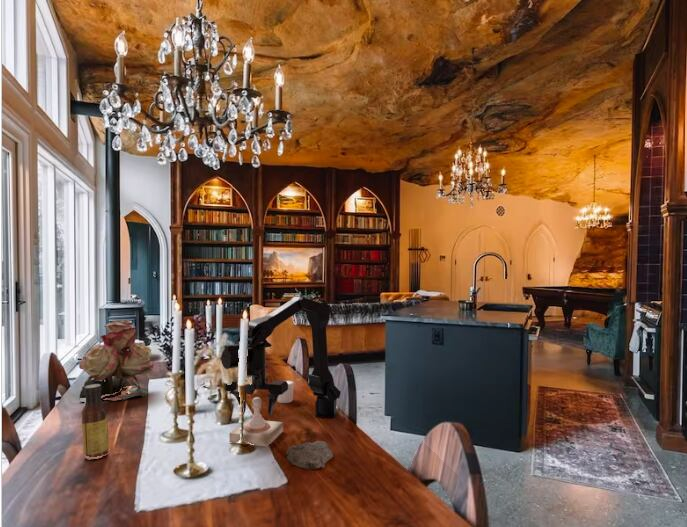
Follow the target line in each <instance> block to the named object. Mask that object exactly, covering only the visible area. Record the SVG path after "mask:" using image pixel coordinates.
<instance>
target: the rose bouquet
mask: <svg viewBox="0 0 687 527" xmlns="http://www.w3.org/2000/svg"><path fill="white" fill-rule="evenodd" d="M132 322H133V321H132V320H129V319H126V320H121V319H120V320H118V319H117V320H112V321H111V322H110V323H107V324H105V325H103V327H105V329H107V332H108V333H106V334H103V335H101V336H100V338H101V339H102V342H103V344H101V343H100V344H99V343H98V344H96V345H95V346H93V347H92V348H91V349H90V350H89V351H88V352H87V353H86V354H85V355H84V356H83V357H82V360H80V362H79V365H78V366H79V367H78V368H79V369H80V370H83V371H84V372H86V374H88V375H89V376H88V378H87V379H86V381H84V384H83V386H82V387H81V390H80V394H79V399H80V398H86V393H85V387H86V386H88V385H93V384H100V385H101V396H102V395H105V394H113V393H115V392H119V391H120V389H121V388H123V387H126V386H136V387H137V388H131V389H129V390H127V391H129V392H133V393H131V394H128V393H125V394H126V395H122V396H117V397H118V398H121V399H123V400H122V401H125V400H127V399H130V398H133V397H138V396H140V397H142V398H146V397H147V396H148V395H149V393H148V392H147V391H146V389H147V388H148V386H145V387H143V386H142V385H141V384H140V382H139V380H138V378H137V377H136V376H141V375H142V376H144V375H148V373H150V372H152V371H153V370H154V366H155V365H154V361H150V360H151V358H152V357H151V355H152V349H151V348H150V347H148V346H146V345H145V344H144V343H141V342H136V339H137V337H138V332H137V331H136V326H135V325H132ZM134 380H135V381H134ZM140 385H141V386H142V387H140ZM123 389H124V388H123ZM144 396H145V397H144ZM117 397H116V398H117ZM113 398H115V397H113Z"/></svg>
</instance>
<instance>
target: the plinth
mask: <svg viewBox="0 0 687 527" xmlns="http://www.w3.org/2000/svg"><path fill="white" fill-rule="evenodd" d="M251 419H252V418H250V419H249V418H247V419H246V420H245V421H244V439H245V441H247V442H249V443H251V444H254V445H258V446H257V447H261V446H265V447H264V448H268V447H269V446H270V445H271V444H272V443H273V442H274V441H275V440H276V439H277V438H278V437H279V436H280V435H281V434H282V433H283V432H284V424H283V423H284V422H283V421H275V420H265V427H264V428H262V429H250V428H249V421H250V420H251ZM239 440H240V425H238V426H236V427H235V428H234V429H233V430H232V431H230V432H229V443H230V442H232V443H231V444H233V443H236V442H238V441H239ZM269 444H270V445H269ZM268 445H269V446H268ZM267 446H268V447H267Z"/></svg>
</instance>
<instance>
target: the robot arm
mask: <svg viewBox="0 0 687 527" xmlns="http://www.w3.org/2000/svg"><path fill="white" fill-rule="evenodd" d="M299 312H304V313H305V316H306V320H307V322H308V323H309V325H310V327H311V336H312V337H311V339H312V358H313V360H312V361H313V370H312V372H311V373H308V375H307V378H308V385H307V386H308V387H309V390H311V391H312V394H313V396H316V400H315V404H314V405H315V406H314V409H315V417H316V418H317V417H318V418H327V419H328V418H330V419H331V418H335V416H336V415H337V414H338V412H339V410H338V409H337V400H338V399H340V397H341V390H339V388H338V387H336V385H335V382H334V380H335V379H334V376H333V374H332V372H331V370H330V368H329V358H328V356H329V355H328V342H327V341H328V340H327V339H328V338H327V336H328V335H327V325H328V324H329V322H330V318H331V306H330V304H328V303H327V302H326V301H319V300H312V299H310V298H306V297H305V296H297V295H295V296H293V297H292V298H291V299H290V300H289V301H287V302H286V303H283V304H282V305H281V306H279V307H277V308H276V309H274V310H273V311H271V312H270V313H268V314H267V315H265V316H260V317H258V318H254V319H252V320H249V321H248V322H249V330H248V339H247V341H248V356H247V363H246V367H247V378H249V377H251V376H252V384H251V385H250V384H247V385H246V387H245V401H244V413H243V414H245V413H246V410H247V409H246V408H247V395H252V394H254V393H256V392H255V391H256V390H264V391H265V390H267V391H268V393H269V394H267V395H266V396H267V399H268V409H267V410H268V416H271V415H272V414H273V411H274V408H275V405H276V402H277V401H278V396H279V395H282V394H283V393H284V392H286V391H287V390H288V383H287V382H286V381H285V380H280V379H279V380H278V379H277V380H274V381H273V382H271V383H269V382H268V377H267V374H266V372H267V370H266V369H268V364H266V348H271V347H272V344H271V343H270V342H269V341H268V340H267V339H268V338H269V337H270V336H271V335H272V333H274V331H275V328H277V327H279V325H281V324H282V323H284V322H286V321H287V320H289V318H291V317H292V316H294V315H296V314H297V313H299ZM239 341H240V336H239V337H238V338H237V340H236V341H235V344H225V345H224V349H223V350H222V353H221V355H220V362H221V365H222V367H223V368H224V369H226V370H230V369H234V368H239V367H238V362H239V358H238V349H239ZM224 391H225V392H229V394H230V395H233V396H234V397H235V398H236V401H237V402H238V404H239V406H240V397H239V392H238V382H237V379H235V380H234V381H233V382H232V384H231V385H227V384H225V383H224Z"/></svg>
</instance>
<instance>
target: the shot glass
mask: <svg viewBox="0 0 687 527" xmlns="http://www.w3.org/2000/svg"><path fill="white" fill-rule="evenodd" d="M284 381H286V382H287V383H288V390H287V391H286V392H284V393H283V394H282V395H279V396H278V398H277V402H278V403H280V404H288V403H292V402H293V398H294V386H295V385H294V384H295V383H294V382H295V381H293V380H284Z"/></svg>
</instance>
